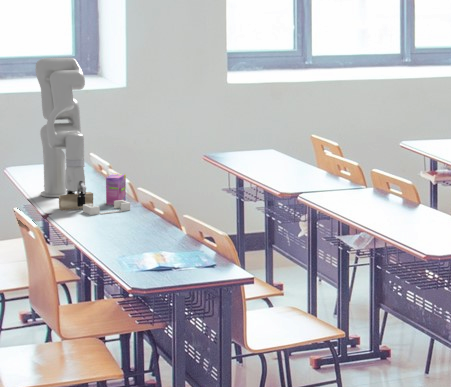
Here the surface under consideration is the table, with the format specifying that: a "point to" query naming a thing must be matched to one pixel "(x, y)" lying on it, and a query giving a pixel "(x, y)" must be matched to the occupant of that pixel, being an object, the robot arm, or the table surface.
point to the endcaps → (96, 210)
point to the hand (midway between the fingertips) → (76, 204)
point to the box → (115, 188)
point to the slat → (73, 201)
